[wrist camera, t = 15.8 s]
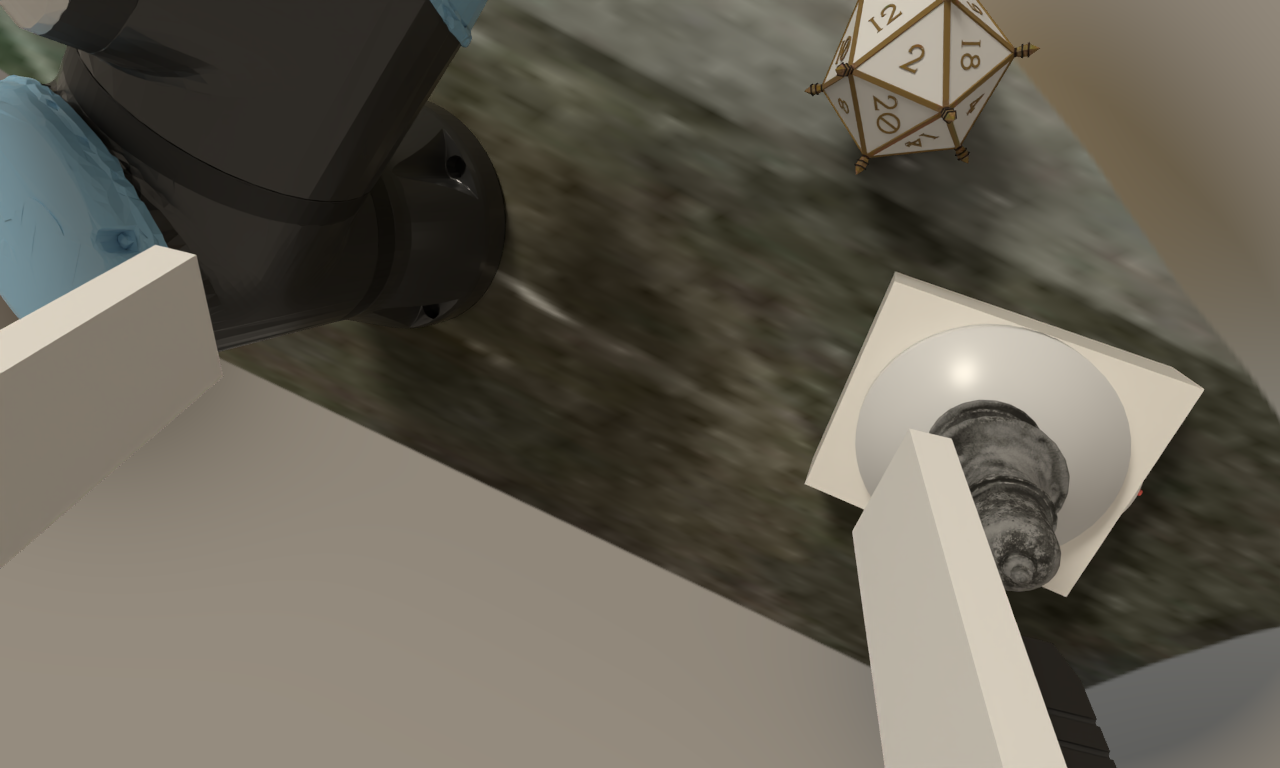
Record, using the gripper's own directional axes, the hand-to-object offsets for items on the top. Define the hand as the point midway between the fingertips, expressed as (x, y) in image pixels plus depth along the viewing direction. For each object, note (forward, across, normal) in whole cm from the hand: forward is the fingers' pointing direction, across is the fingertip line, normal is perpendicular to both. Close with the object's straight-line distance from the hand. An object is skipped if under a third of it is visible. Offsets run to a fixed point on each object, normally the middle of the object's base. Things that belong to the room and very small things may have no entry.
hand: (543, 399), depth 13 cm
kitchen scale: (+22, +20, -12) cm, 32 cm away
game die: (+29, +11, +2) cm, 31 cm away
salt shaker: (+18, +18, -11) cm, 28 cm away
